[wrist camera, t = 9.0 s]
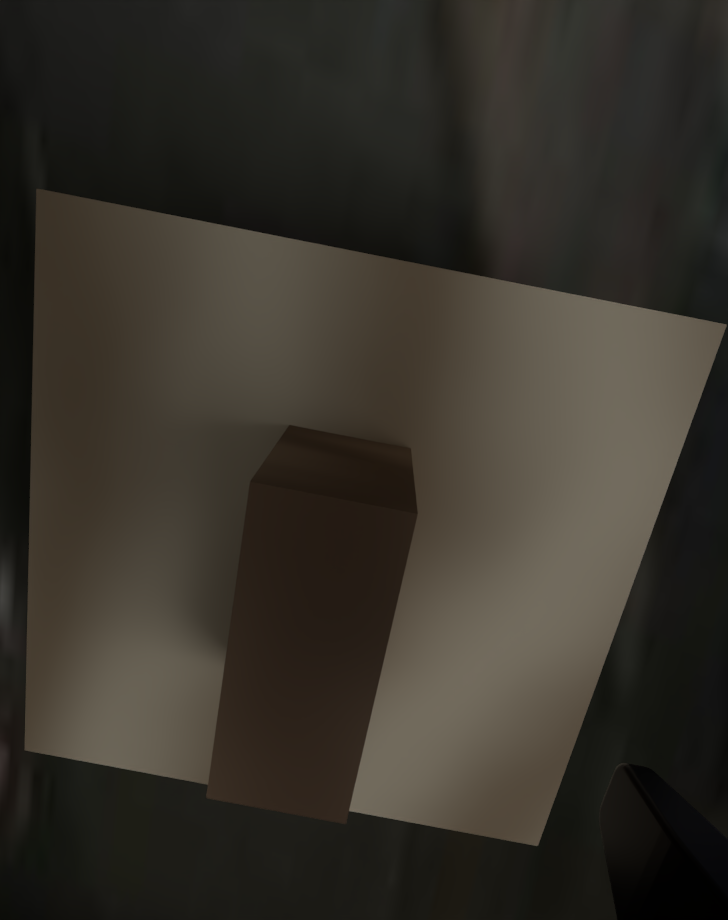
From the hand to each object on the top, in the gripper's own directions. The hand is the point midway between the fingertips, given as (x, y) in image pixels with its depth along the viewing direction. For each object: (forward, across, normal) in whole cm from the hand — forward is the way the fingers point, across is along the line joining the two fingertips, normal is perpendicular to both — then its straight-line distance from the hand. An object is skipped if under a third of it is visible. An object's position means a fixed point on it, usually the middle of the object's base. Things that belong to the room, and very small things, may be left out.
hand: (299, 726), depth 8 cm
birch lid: (+6, 0, 0) cm, 6 cm away
